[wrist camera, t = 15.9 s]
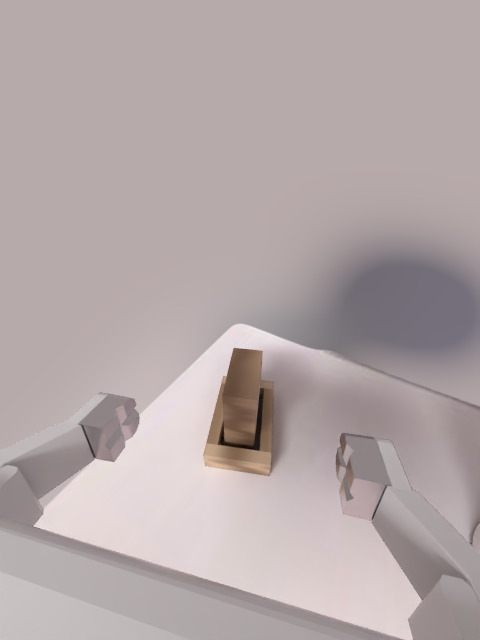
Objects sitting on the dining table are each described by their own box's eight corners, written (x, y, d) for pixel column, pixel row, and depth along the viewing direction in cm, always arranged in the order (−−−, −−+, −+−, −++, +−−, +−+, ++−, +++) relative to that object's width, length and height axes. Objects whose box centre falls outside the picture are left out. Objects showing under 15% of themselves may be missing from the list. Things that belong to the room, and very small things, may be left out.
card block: (258, 404, 40) (262, 350, 33) (253, 453, 33) (258, 400, 26) (233, 401, 40) (233, 347, 33) (224, 449, 34) (221, 395, 27)
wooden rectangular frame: (272, 393, 41) (273, 381, 40) (269, 475, 31) (271, 465, 29) (223, 387, 42) (223, 376, 41) (205, 465, 32) (203, 454, 30)
